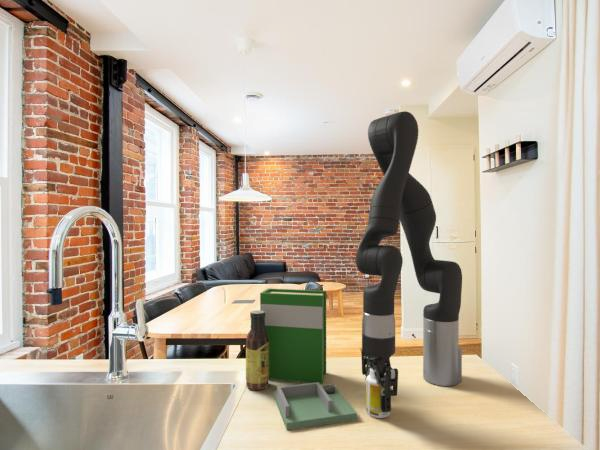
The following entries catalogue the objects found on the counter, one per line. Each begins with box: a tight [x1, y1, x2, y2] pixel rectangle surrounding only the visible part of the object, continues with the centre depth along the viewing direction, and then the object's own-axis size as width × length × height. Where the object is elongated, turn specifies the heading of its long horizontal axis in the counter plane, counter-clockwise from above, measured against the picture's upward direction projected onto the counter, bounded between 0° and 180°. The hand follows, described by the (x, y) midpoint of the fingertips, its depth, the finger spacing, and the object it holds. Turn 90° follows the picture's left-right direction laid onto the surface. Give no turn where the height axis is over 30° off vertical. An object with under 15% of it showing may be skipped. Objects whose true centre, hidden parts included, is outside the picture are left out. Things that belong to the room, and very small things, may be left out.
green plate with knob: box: [273, 382, 358, 431], centre depth 88 cm, size 16×15×4 cm
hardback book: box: [259, 288, 327, 385], centre depth 106 cm, size 18×7×24 cm, turn 78°
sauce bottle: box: [245, 309, 270, 391], centre depth 99 cm, size 7×6×20 cm
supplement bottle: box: [365, 367, 392, 419], centre depth 85 cm, size 6×6×10 cm
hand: (378, 403), depth 85 cm, fingers open, 6 cm apart
